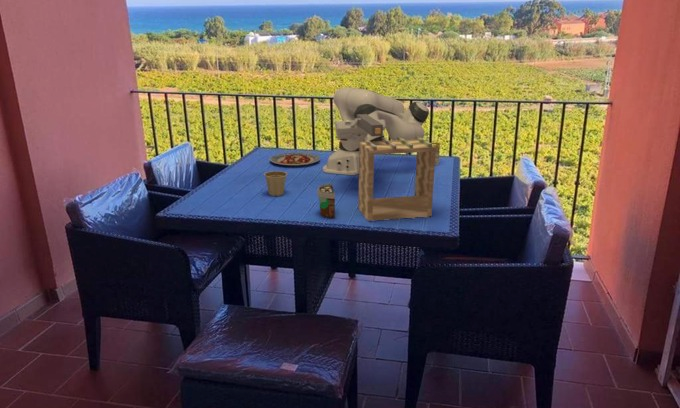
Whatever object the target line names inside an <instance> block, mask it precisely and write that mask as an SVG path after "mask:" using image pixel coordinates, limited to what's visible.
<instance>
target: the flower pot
mask: <svg viewBox="0 0 680 408" xmlns="http://www.w3.org/2000/svg"><path fill="white" fill-rule="evenodd" d="M263 176H264V177H265V180H266V187H267V192H268V195H269V196H272V197H275V196H277V197H280V196H284V193H285V186H286V185H285V183H286V179H287V177H288V172H286V171H280V170H272V171H271V170H270V171H267V172H265V173H264V174H263Z"/></svg>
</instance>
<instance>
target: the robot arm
mask: <svg viewBox="0 0 680 408" xmlns="http://www.w3.org/2000/svg"><path fill="white" fill-rule="evenodd" d="M333 103H334V105H335V106H336V108H337V109H338V112H339V115H340V118H341V120H338V121H335V135H336V138H337V139H336V140H338V149H337V150H336V151H334V152H333V153H332V154H330V155H329V157H328V158H327V163H326V164H325V165H323V167H322V173H326V174H336V175H337V174H338V175H347V176H355V175H359V142H363V138H366V139H368V140H369V141H382V138H386V136H385V133H384V132H383V136H371V135H369V134H368V133H367V132H365V131H364V130H363V129H362V128H360V127H359V126H358V125H357V124H359V119H357V114H367V115H369V116H370V117H372V118H373V119H375V120H376V121H378V122H379V123H381V124H382V125H383V131H385V130H386V132H387V134H388V137H389V140H397V137H401V138H403V139H404V140H414V139H415V136H419V137H420V138H422V139H424V138H425V130H424V128H423V125H424V123H425V122H426V120H427V119H428V118H429V115H430V112H429V111H430V110H429V109H428V107H427V106H426V105H425V104H424V103H423V102H420V101H413V102H411V103H410V104H409V106H408V108H407V109H406V110H405V106H404V104H403V102H402V101H399V100H398V99H395V98H394V97H391V96H387V95H383V94H379V93H377V92H375V91H373V90H368V89H363V88H359V87H358V88H356V87H351V86H345V87H340V88H338V89H336V91H334V95H333Z"/></svg>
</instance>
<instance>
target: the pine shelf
mask: <svg viewBox="0 0 680 408" xmlns="http://www.w3.org/2000/svg"><path fill="white" fill-rule="evenodd" d="M431 143H432V142H429V141H428V140H425V139H424V138H423V139H422V138H420V137H419V136H415V139H414V140H404V139H403V138H401V137H397V140H391V139H387V138H386V137H384V138H382V141H369V140H368V139H366V138H363V142H359V174H358V204H357V205H358V207H357V208H358V211H359V212H360V211H361V212H362V213H361V212H360V213H361V215H362V216H363V215H364V216H365V217H364V216H363V217H364V219H365V220H366V219H367V220H368V221H372V220H384V219H385V221H387V220H386V219H398V220H402V219H401V218H412V219H416V218H415V217H425V218H430V217H429V216H431V217H432V213H433V200H434V197H433V195H434V182H435V171H436V170H435V168H436V167H435V166H436V165H435V154H436V147H435V146H433V145H434V144H431ZM412 153H416V160H415V161H416V163H415V179H414V180H415V182H414V184H415V185H414V195H408V196H396V197H395V196H394V197H382V198H381V197H378V198H377V197H376V198H374V174H375V173H374V171H375V170H374V169H375V168H374V167H375V166H374V165H375V163H374V162H375V155H390V154H412ZM399 218H400V219H399ZM367 220H366V221H367ZM368 221H367V222H368ZM372 222H373V221H372Z"/></svg>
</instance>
